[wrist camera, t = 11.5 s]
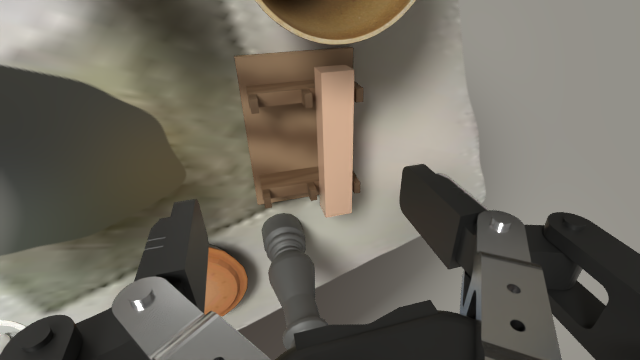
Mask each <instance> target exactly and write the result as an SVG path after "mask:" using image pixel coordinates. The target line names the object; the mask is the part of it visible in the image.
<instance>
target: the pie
mask: <svg viewBox="0 0 640 360" xmlns="http://www.w3.org/2000/svg"><path fill="white" fill-rule="evenodd" d="M247 282H248V277H247V274H246V272H245V269H244V267H243V266H242V265H241V264H240V263H239V262H238V261H237V260H236V259H235V258H233V257H232V256H230V255H229V254H228V253H226V252H225V251H223V250H221V249H220V248H218V247H216V246H213V245H210V244H209V252H208V267H207V281H206V296H205V310H204V314H205V315H206V314H207V313H208V312H210V311H213V312H215V313H217V314H218V315H219V316H224V315H225V314H227V313H228V312H229V311H231V310H232V309H233V308H235V306H236V305H237V304H238V303H239V302H240V301H241V299H242V298H243V296H244V294H245V292H246V290H247Z"/></svg>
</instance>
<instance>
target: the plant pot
mask: <svg viewBox="0 0 640 360" xmlns="http://www.w3.org/2000/svg"><path fill="white" fill-rule="evenodd" d="M255 1H256V2H257V4H258V5H259V6H260V7H261V8H262V9H263V11H264V12H265V13H266V14H267V15H268V16H269V17H270V18H272V19H273V20H274V21H275V22H277V23H278V24H279V25H280V26H282V27H283V28H285V29H286V30H288V31H290V32H291V33H293V34H295V35H297V36H299V37H301V38H304V39H307V40H310V41H313V42H317V43H322V44H330V45H341V44H350V43H355V42H359V41H362V40H365V39H368V38H371V37H373V36H375V35H377V34H379V33H381V32H382V31H384V30H386V29H387V28H389V27H390V26H391V25H392V24H394V23H395V22H396V21H397V20H398V19H400V18H401V17H402V16H403V15H404V14H405V13H406V12H407V11H408V10H409V8H410V7H411V6H412V5H413V4H414V2H415V1H416V0H255Z"/></svg>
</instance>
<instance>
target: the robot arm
mask: <svg viewBox="0 0 640 360" xmlns="http://www.w3.org/2000/svg"><path fill="white" fill-rule="evenodd" d="M400 207H401V210H402V212H403V214H404V215H405V216H406V218H407V219H408V220H409V221H410V223H411V224H412V225H413V226H414V227H415V229H416V230H417V231H418V232H419V234H420V235H421V236H422V237H423V238H424V240H425V241H426V242H427V244H428V245H429V246H430V247H431V248H432V250H433V251H434V252H435V253H436V255H437V256H438V257H439V258H440V260H441V261H442V262H443V263H444V265H445V266H446V267H447V268H448V269H452V268H457V267H463V269H464V271H463V276H462V288H461V302H460V314H458V313H453V312H448V311H438V310H436V308H435V306H434V305H433V304H432V302H431V300H428V301H424V302H419V303H415V304H412V305H408V306H403V307H399V308H397V309H396V310H394V311H392V312H390V313H388V314H386V315H385V316H383V317H381V318H379V319H377V320H376V321H374V322H372V323H370V324H365V325H327V326H323V327H319V328H315V329H311V330H306V331H302V332H298V333H294V342H295V346H294V347H292V348H290V349H288V350H287V351H286V352H284V353H283V354H281V355H280V356H279V357H278V358H277V359H275V360H562V358H561V354H560V349H559V344H558V340H557V335H556V330H555V326H554V322H553V316H552V314H553V315H554V316H555V317H556V318H557V319H558V320H559V321H560V323H561V324H562V325H563V326H564V327H565V328H566V329H567V330H568V331H569V332H570V333H571V334H572V335H573V336H574V337H575V338H576V339H577V340H578V342H579V343H581V345H582V346H583V347H584V348H585V349H586V350H587V351H588V352H589V353H590V354H591V355H592V356H593V357H594V358H595V359H596V360H640V254H639V253H637V252H636V251H634V250H633V249H631V248H630V247H628V246H627V245H625V244H624V243H622V242H621V241H619V240H618V239H616V238H615V237H613V236H612V235H610V234H609V233H607V232H606V231H604V230H603V229H601V228H600V227H598V226H597V225H595V224H594V223H592V222H591V221H589V220H587V219H585V218H583V217H581V216H578V215H575V214H571V213H564V212H557V213H552V214H550V215H549V216H548V218H547V221H546V223H545V225H524V224H523V223H522V222H521V220H519V219H518V218H517V217H515V216H513V215H511V214H509V213H506V212H502V211H495V210H488V211H487V210H486V209H485V208H484V207H482V206H481V205H480V204H479V203H478V202H476V201H475V200H474V199H473V198H472V197H470V196H469V195H468V194H467V193H464V191H463V190H462V189H461V188H459V187H458V186H457V185H456V184H455V183H453V182H452V181H451V180H450V179H448V178H446V177H444V176H441V175H439V174H435V173H434V172H433V171H432V170H431V169H429V168H428V167H427V166H426V165H424V164H419V165H413V166H406V167H404V169H403V172H402V181H401V190H400ZM208 252H209V244H208V236H207V232H206V228H205V224H204V221H203V217H202V213H201V210H200V206H199V203H198V200H197V199H192V200H186V201H180V202H175V203H174V205H173V209H172V213H171V217H168V218H162V219H160V220H159V221H158V222H157V223H156V224H155V225H154V226H153V227H152V228H151V231H150V234H149V237H148V242H147V243H146V246H145V251H144V252H143V255H142V259H141V262H140V265H139V268H138V271H137V274H136V277H135V280H134V282H133V283H131V284H129V285H128V286H126V287H125V288H124V289H123V290H121V292H120V293H119V294H118V295H117V296H116V297H115V299H114V301H113V304H112V307H111V308H109V309H108V310H106V311H104V312H102V313H99V314H97V315H95V316H92V317H90V318H88V319H86V320H83V321H81V322H79V323H76V324H75V323H74V322H73V320H72V319H71V318H70V317H68V316H65V315H54V316H49V317H46V318H43V319H41V320H38V321H36V322H34V323H32V324H30V325H29V326H27V327H25V328H24V329H23V330H21V331H20V332H19V333H17V334H16V335H15V336H14V337H13V338H12V339H11V340H10V341H9V342H8V343H7V345H6V346H5V347H4V349H3V351H2V352H1V354H0V360H271V359H269V358H268V357H267V356H266V355H265V354H264V353H262V352H261V351H260V350H259V349H258V348H257V347H255V346H254V345H253V344H252V343H251V342H249V340H247V339H246V338H245V337H244V336H243V335H242V334H240V333H239V332H238V331H237V330H236V329H235V328H233V327H232V326H231V325H230V324H229V323H228V322H226V321H225V320H224V319H223V318H222V317H221V316H219V315H218V314H217V313H215V312H213V311H210V312H208V313H207V314H206V315H205V314H204V310H205V296H206V281H207V267H208ZM582 269H584V270H585V271H586V272H587V273H588V274H590V275H591V276H592V277H593V278H594V279H596V280H597V281H598V282H599V283H600V284H602V285H603V286H604V288H605V289H606V291H607V293H608V296H609V301H608V304H607V305H606V306H605V305H604V304H603V303H602V302H601V301H599V300H598V299H597V298H596V297H595V296H594V295H593V294H592V293H590V292H589V291H588V290H587V289H586V288H585V287H583V286H582V285H581V284H580V283H579V282H578V281H577V278H578V276H579V274H580V273H581V271H582Z"/></svg>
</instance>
